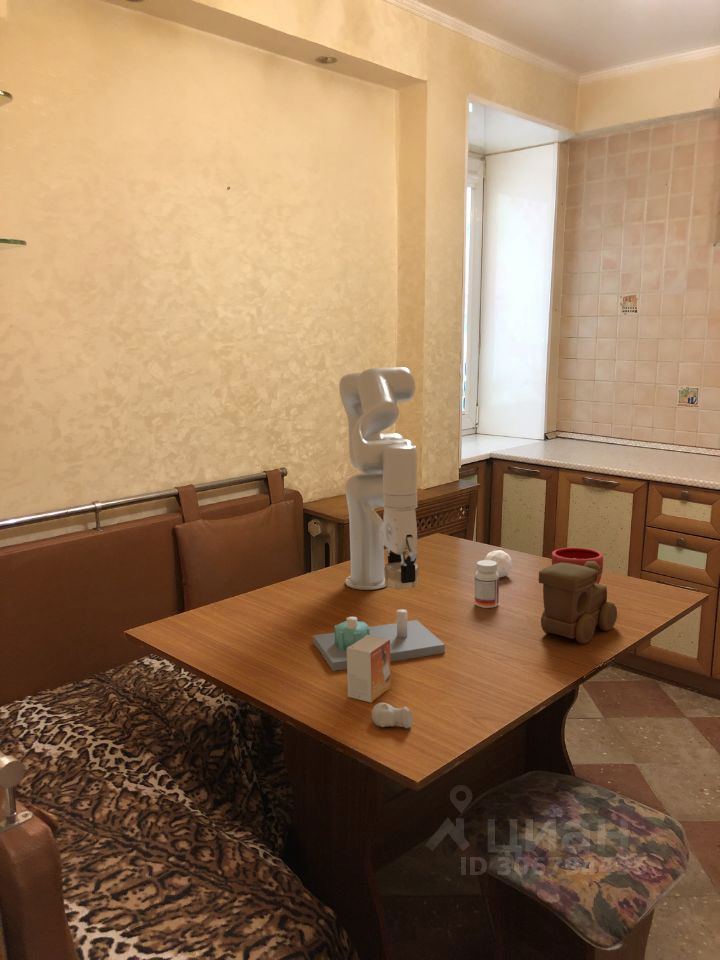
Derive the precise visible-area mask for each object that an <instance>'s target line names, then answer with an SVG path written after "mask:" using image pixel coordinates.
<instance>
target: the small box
mask: <svg viewBox="0 0 720 960" xmlns="http://www.w3.org/2000/svg"><path fill="white" fill-rule="evenodd" d="M346 671H347V673H346V675H347V697H348V698H351V699H354V700H360V701H364V702H367V703H373V702H374V701H375V700H376V699H377V698H379V697H380V696H381V695H383V694H384V693H385V692H386V691H388V690H390V689H391V687H392V686H391V685H392V684H391V681H392V680H391V662H390V640H389V639H385V638H381V637H376V636H371V635H366V636H365V637H364V638H362V639H361V640H359V641H357V642H356V643H354V644H353V645H351V646H349V647H347V669H346Z"/></svg>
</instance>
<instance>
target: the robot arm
mask: <svg viewBox="0 0 720 960" xmlns="http://www.w3.org/2000/svg"><path fill="white" fill-rule="evenodd" d="M414 377H415V376H414V375H413V373H412V372H411V370H410V369H409V368H407V367H403V366H401V367H400V366H396V367H395V366H394V367H393V366H391V367H373V368H372V367H371V368H368V369H364V370H363V371H361V372H352V373H348V374H345V375H344V376H342V377H341V378H340V380H339V383H338V387H339V396H340V400H341V403H342V406H343V409H344V411H345V413H346V417H347V423H348V425H347V426H348V448H349V449H348V450H349V451H348V452H349V459H350V464H351V465H352V467H354V468H356V469H358V470H359V472H361V473H358V474H357V473H356V474H354V475H352V476H350V477H349V478H348V479H347V480H346V481H345V486H344V489H345V498H346V501H347V508H348V509H347V510H348V520H349V541H350V542H349V550H350V551H349V552H350V553H349V555H350V575H348V576H347V577H346V579H345V585H346V586H347V587H349V588H352V589H354V590H355V589H356V590H360V591H361V590H363V591H364V590H365V591H369V590H370V591H371V590H381V589H382V588H385V587H386V586H385V580H384V568H385V548H386V549H387V551H386V552H387V553H386V554H387V564H388V563H395V562H402V564H403V565H401V582H402V583H410V582H415V565H416V564H417V563H416V562H417V556H418V528H417V527H418V525H417V514H416V509H417V508H418V449H417V446H416V445H414V443H413V441H411V440H410V439H405V438H404V437H403V435H401V434H399V433H394V432H392V433H391V432H390V433H381V432H383V431H385V430H386V429H388V428H390V427H392V426H393V425H394V424H395V423H396V422H397V421H398V420H399V419H398V418H399V415H400V409H399V407H398V406H399V405H398V404H402V403H407V402H409V401H411V400H412V399H413V397H414V396H415V392H416V381H415V378H414ZM376 508H383V509H384V510H383V519H382V518H381V516H380V515H379V514H378V513H377V512H376V511H375V510H374V509H376ZM406 555H407V557H406Z"/></svg>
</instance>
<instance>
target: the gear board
mask: <svg viewBox="0 0 720 960" xmlns="http://www.w3.org/2000/svg"><path fill="white" fill-rule="evenodd" d="M366 635H371V636H376V637H381V638H385V639H389V640H390V663H391V662H399V661H404V660H411V659H416V658H417V659H418V658H423V657H428V656H433V655H434V656H435V655H440V654H444V653H446V647H445V646H446V645H445V643H444V642H443V641H442V640H440V639H439V638H438V637H437V636H436V635H435V634H433V632H431V631H430V630H429V629H428V628H427V627H426V626H424V625H423V624H422V623H421V622H420V621H419V620H417V619H414V620H413V619H412V620H408V610H407V609H397V610H396V622H394V623H388V624H387V623H386V624H382V625H374V626H369V625H368V624H367V623H366V622H365V621H360V620H359V621H358V617H357V616H348V617H346V621H343V622H340V623H339V624H335V626H334V632H329V633H322V634H316V635H314V634H313V635H312V640H313V641H312V642H314V644H315V645H316V647H317V648H318V650H319V651H320V652H321V654H322V655H323V656H322V655H321V654H320V655H321V656H322V658H323V657H324V658H325V659H324V658H323V659H324V660H326V661H327V662H326V661H325V662H326V663H327V665H328V664H329V665H330V666H329V665H328V666H329V667H331V670H332V672H338V671H337V670H339V671H343V669H345V670H347V647H349V646H351V645H353V644H354V643H356V642H357V641H359V640H361V639H362V638H364V637H365V636H366ZM314 644H313V645H314ZM315 645H314V646H315ZM316 647H315V648H316ZM317 648H316V649H317ZM318 650H317V651H318ZM319 651H318V652H319ZM320 652H319V653H320Z"/></svg>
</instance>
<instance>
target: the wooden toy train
mask: <svg viewBox="0 0 720 960" xmlns="http://www.w3.org/2000/svg"><path fill="white" fill-rule="evenodd" d="M601 571H602V572H603V570H601V569H600V567H599V565H598V564H597V562H594V561H587V562H586V563H585V565H584V566H580V565H575V564H569V563H557V564H553V565H552V564H551V565H548V566H546V567H544V568H542V569H541V570H540V571H538V583H539V584H542V585H543V586H542V588H543V589H542V596H543V598H542V599H543V608H544V610H543V612H542V614H541V617H540V626H541V629H542V631H543V632H544V633H545V634H548V635H550V634H554V635H555V634H556V635H559V636H562V637H565V638H569V639H575V640H576V641H577V642H578V643H579V644H582V645H584V644H588V643H589V642H590V641H591V639H592V638H593V636H594V633H595V631H596V626H597V625H598V627H599V628H600V630H602V631H603V632H604V631H605V632H607V631H610V630H611V629H613V627H614V626H615V625H616V622H617V618H618V608H617V606H616V604H615V603H614V602H612V601H608V589H607V586H605V585H603V584H601V583H599V584H597V583H596V582H598V576H599V575H600V573H601Z"/></svg>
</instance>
